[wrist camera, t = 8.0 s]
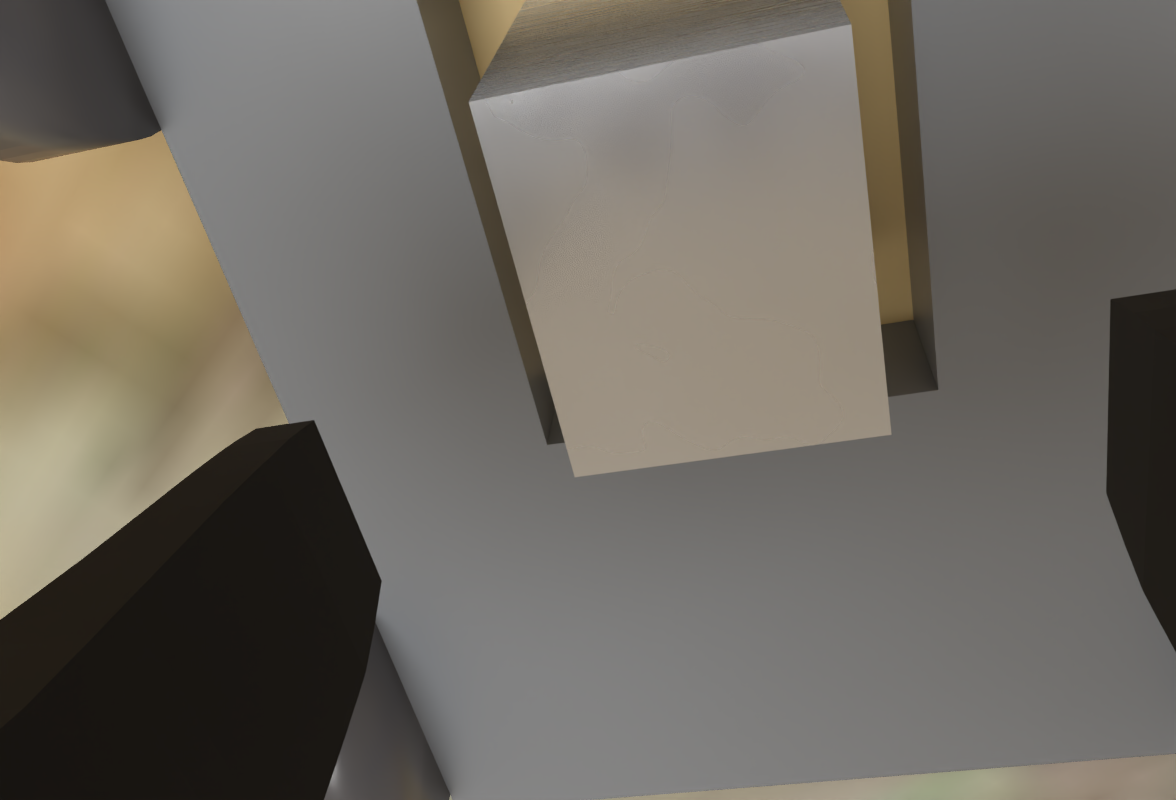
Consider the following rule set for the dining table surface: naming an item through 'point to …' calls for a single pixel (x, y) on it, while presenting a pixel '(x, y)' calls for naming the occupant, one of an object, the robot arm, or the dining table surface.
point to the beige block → (689, 224)
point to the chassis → (699, 488)
